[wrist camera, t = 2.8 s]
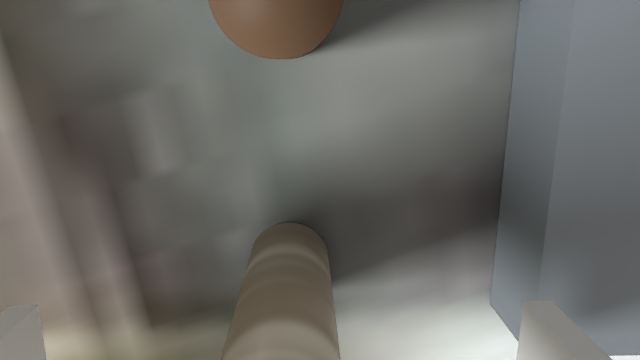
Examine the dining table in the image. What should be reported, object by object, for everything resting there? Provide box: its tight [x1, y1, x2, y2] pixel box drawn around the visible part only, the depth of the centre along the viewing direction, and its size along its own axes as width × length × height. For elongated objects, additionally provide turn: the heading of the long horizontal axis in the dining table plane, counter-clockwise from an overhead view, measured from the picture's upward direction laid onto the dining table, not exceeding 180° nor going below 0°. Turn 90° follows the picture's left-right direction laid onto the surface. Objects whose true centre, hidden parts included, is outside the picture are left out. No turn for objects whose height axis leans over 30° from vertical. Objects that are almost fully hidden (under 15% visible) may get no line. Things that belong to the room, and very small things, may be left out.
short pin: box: [208, 0, 343, 59], centre depth 13 cm, size 3×3×6 cm
